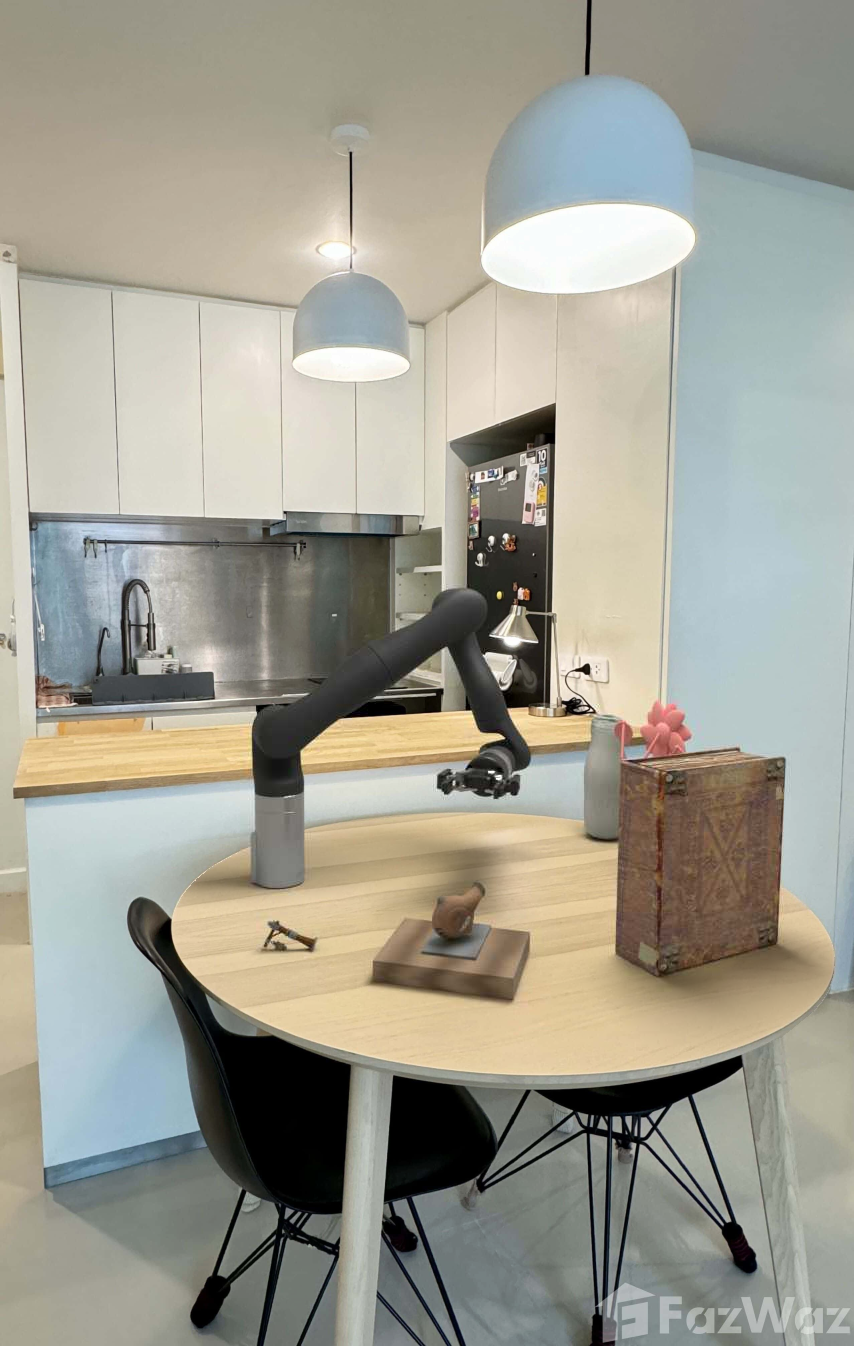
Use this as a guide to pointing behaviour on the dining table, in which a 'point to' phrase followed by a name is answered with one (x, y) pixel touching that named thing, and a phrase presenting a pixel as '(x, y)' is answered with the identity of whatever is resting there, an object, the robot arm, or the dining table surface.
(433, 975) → the wooden block
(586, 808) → the glass bottle
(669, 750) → the pink flower ornament
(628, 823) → the book
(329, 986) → the dining table surface
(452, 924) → the oil lamp
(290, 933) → the wooden blunderbuss cannon
